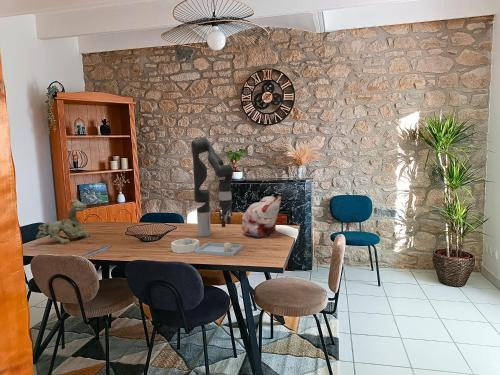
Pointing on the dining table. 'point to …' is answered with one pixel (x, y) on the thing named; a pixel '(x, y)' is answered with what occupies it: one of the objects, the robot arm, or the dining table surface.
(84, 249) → the dining table surface
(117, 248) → the dining table surface
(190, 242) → the stone slate
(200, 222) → the robot arm
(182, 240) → the bowl
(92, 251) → the plaque
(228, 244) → the stone sand
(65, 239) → the sculpture
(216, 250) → the tray
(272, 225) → the sculpture
